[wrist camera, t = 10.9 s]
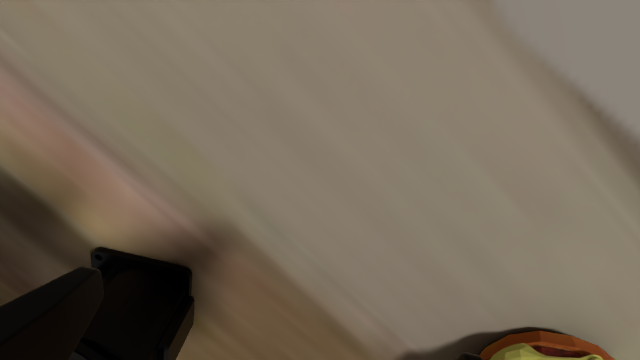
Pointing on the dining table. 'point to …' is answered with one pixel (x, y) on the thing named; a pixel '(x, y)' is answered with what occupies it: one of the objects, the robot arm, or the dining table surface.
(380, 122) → the dining table surface
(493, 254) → the dining table surface
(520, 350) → the cheeseburger
